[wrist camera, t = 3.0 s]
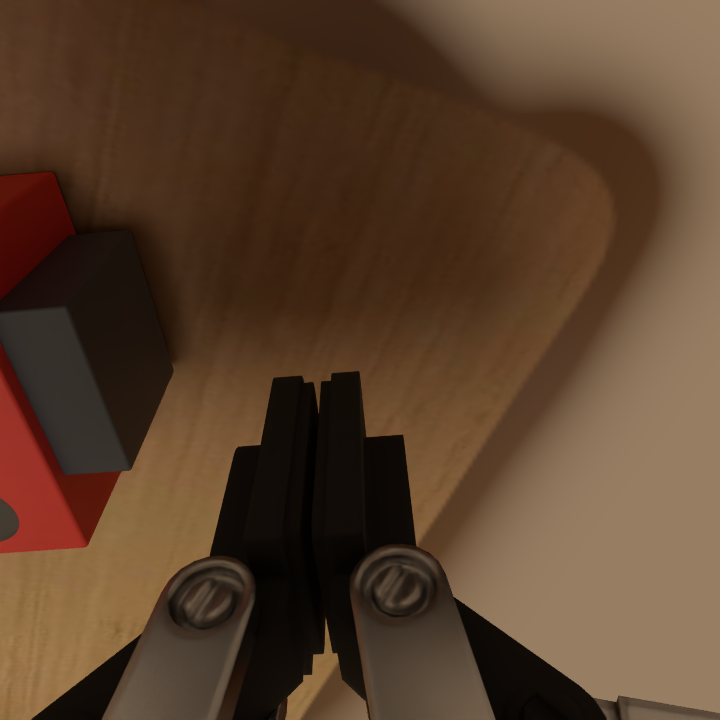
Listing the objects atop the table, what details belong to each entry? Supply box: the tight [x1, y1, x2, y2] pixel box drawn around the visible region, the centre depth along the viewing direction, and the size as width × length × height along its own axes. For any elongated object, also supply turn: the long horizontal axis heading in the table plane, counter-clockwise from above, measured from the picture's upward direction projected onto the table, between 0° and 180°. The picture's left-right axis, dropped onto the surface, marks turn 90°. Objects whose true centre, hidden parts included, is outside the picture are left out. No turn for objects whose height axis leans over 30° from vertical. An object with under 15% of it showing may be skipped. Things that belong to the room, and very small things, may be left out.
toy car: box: [0, 172, 174, 553], centre depth 15 cm, size 8×5×5 cm, turn 5°
